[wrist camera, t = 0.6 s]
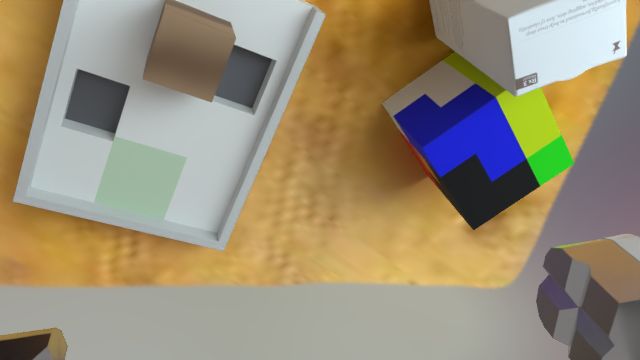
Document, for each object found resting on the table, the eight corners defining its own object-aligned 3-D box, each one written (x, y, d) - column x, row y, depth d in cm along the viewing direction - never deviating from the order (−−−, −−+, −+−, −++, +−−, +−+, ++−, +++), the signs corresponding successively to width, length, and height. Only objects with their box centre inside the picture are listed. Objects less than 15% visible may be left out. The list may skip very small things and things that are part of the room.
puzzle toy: (381, 102, 51) (421, 148, 42) (472, 38, 50) (533, 71, 41) (428, 176, 56) (473, 230, 47) (512, 119, 55) (574, 163, 46)
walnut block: (166, -4, 40) (164, 10, 36) (230, 22, 42) (236, 38, 38) (146, 59, 42) (142, 79, 38) (208, 81, 44) (211, 102, 40)
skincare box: (509, -58, 46) (635, -35, 33) (517, 11, 49) (635, 56, 36) (417, -23, 46) (508, 14, 33) (431, 44, 49) (519, 102, 36)
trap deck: (93, -92, 39) (86, -90, 36) (316, 5, 45) (325, 14, 42) (23, 180, 47) (12, 201, 44) (221, 230, 53) (223, 251, 50)
